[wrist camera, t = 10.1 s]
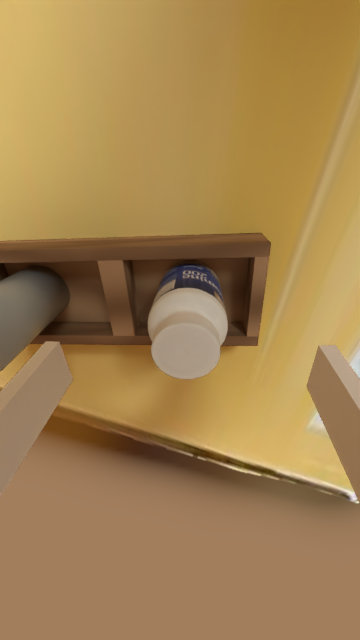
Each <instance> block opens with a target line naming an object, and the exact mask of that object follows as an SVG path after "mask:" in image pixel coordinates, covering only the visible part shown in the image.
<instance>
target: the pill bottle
mask: <svg viewBox="0 0 360 640" xmlns="http://www.w3.org/2000/svg"><path fill="white" fill-rule="evenodd" d="M227 330H228V321H227V315H226V310H225V305H224V301H223V296H222V291H221V287H220V283H219V280H218V278H217V276H216V274H215V273H214V272H213V270H211V269H210V268H209V267H208V266H206V265H204V264H202V263H199V262H196V261H185V262H181V263H178V264H176V265H174V266H173V267H171V268H170V269H169V270H168V271H167V272H166V273H165V275H164V277H163V279H162V281H161V283H160V285H159V288H158V291H157V294H156V297H155V299H154V302H153V305H152V307H151V310H150V313H149V317H148V333H149V336H150V339H151V341H152V346H151V354H152V358H153V360H154V362H155V364H156V365H157V367H158V368H159V369H160V370H161V371H163V372H164V373H165V374H167V375H169V376H172V377H174V378H178V379H195V378H199V377H202V376H204V375H206V374H208V373H209V372H210V371H212V370H213V369H214V368H215V366H216V365H217V363H218V361H219V358H220V347H221V345H222V344H223V342H224V340H225V338H226V335H227Z"/></svg>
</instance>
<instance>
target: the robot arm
mask: <svg viewBox="0 0 360 640" xmlns="http://www.w3.org/2000/svg"><path fill="white" fill-rule="evenodd" d="M72 381H73V377H72V375H71V372H70V369H69V367H68V364H67V361H66V358H65V356H64V353H63V350H62V348H61V345H60V342H52V341H46V342H45V343H44V344H43V345H42V346H41V347H40V348H39V349H38V350H37V352H36V353H35V354H34V355H33V356H32V357H31V358H30V359H29V360H28V361H27V363H26V364H25V365H24V366H23V367H22V368H21V369H20V370H19V371H18V372H17V373H16V375H15V376H14V377H13V378H12V379H11V380H10V381H9V382H8V383H7V384H6V386H5V387H4V388H3V389H2V390H1V391H0V497H1V495H2V494H3V492H4V490H5V489H6V487H7V485H8V484H9V482H10V481H11V479H12V478H13V476H14V474H15V473H16V471H17V469H18V468H19V466H20V465H21V463H22V461H23V460H24V458H25V457H26V455H27V453H28V452H29V450H30V448H31V447H32V445H33V444H34V442H35V440H36V439H37V437H38V436H39V434H40V432H41V431H42V429H43V427H44V426H45V424H46V423H47V421H48V419H49V418H50V416H51V415H52V413H53V411H54V410H55V408H56V407H57V405H58V403H59V402H60V400H61V398H62V397H63V395H64V394H65V392H66V390H67V389H68V387H69V386H70V384H71V382H72ZM307 388H308V391H309V393H310V395H311V397H312V399H313V402H314V404H315V406H316V408H317V410H318V413H319V415H320V417H321V419H322V421H323V424H324V426H325V428H326V430H327V432H328V434H329V437H330V439H331V441H332V443H333V445H334V448H335V450H336V452H337V454H338V456H339V459H340V461H341V463H342V465H343V467H344V470H345V472H346V474H347V476H348V478H349V480H350V483H351V485H352V487H353V489H354V491H355V494H356V496H357V498H358V500H359V502H360V378H359V377H358V376H357V374H356V373H355V371H354V370H353V369H352V367H351V366H350V364H349V363H348V362H347V360H346V359H345V358H344V356H343V355H342V353H341V352H340V351H339V349H338V348H337V346H336V345H319V346H318V349H317V353H316V356H315V360H314V363H313V366H312V370H311V373H310V376H309V380H308V383H307Z"/></svg>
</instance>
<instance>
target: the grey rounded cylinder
mask: <svg viewBox="0 0 360 640" xmlns="http://www.w3.org/2000/svg"><path fill="white" fill-rule="evenodd" d="M69 300H70V293H69V289H68V286H67V284H66V283H65V281H64V280H63V278H62V277H61V276H60V275H59V274H57V273H56V272H55V271H53V270H52V269H50V268H47V267H45V266H41V265H31V266H28V267H26V268H24V269H22V270H20V271H18V272H16V273H15V274H13V275H11V276H9V277H7V278H5V279H3V280H1V281H0V371H1V370H3V369H4V368H5V367H6V366H7V365H8V364H9V363H10V362H11V361H12V360H13V359H14V358H15V357H16V356H17V355H18V354H19V353H20V352H21V351H22V350H23V349H24V348H25V347H26V346H27V345H28V344H29V343H30V342H31V341H32V340H33V339H34V338H35V337H36V336H38V335H39V334H40V333H41V332H42V331H43V330H44V329H45V328H46V327H47V326H48V325H49V324H50V323H51V322H52V321H53V320H54V319H55V318H56V317H57V316H58V315H59V314H60V313H61V312H62V311H63V310H64V309H65V308H66V307H67V305H68V304H69Z"/></svg>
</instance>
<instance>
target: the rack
mask: <svg viewBox="0 0 360 640" xmlns="http://www.w3.org/2000/svg"><path fill="white" fill-rule="evenodd" d="M270 246H271V242H270V241H269V240H268V239H267V238H266V237H265V236H264V235H263V234H262V233H241V234H210V235H178V236H146V237H115V238H83V239H51V240H20V241H0V281H1V280H3V279H5V278H7V277H9V276H11V275H13V274H15V273H16V272H18V271H20V270H22V269H24V268H26V267H28V266H31V265H41V266H45V267H47V268H50V269H52V270H53V271H55V272H56V273H57V274H59V275H60V276H61V277H62V278H63V280H64V281H65V283H66V284H67V286H68V289H69V293H70V300H69V304H68V305H67V307H66V308H65V309H64V310H63V311H62V312H61V313H60V314H59V315H58V316H57V317H56V318H55V319H54V320H53V321H52V322H51V323H50V324H49V325H48V326H47V327H46V328H45V329H44V330H43V331H42V332H41V333H40V334H39V335H38V336H36V337H35V338H34V339H33V340H32V341H31V342H30V343H29V344H44V343H45V342H46V341H52V342H60V344H104V345H152V341H151V339H150V336H149V333H148V317H149V313H150V310H151V307H152V305H153V302H154V299H155V297H156V294H157V291H158V288H159V285H160V283H161V281H162V279H163V277H164V275H165V273H166V272H167V271H168V270H169V269H170V268H171V267H173V266H174V265H176V264H178V263H181V262H185V261H196V262H199V263H202V264H204V265H206V266H208V267H209V268H210V269H211V270H213V272H214V273H215V274H216V276H217V278H218V280H219V283H220V287H221V291H222V296H223V301H224V305H225V310H226V315H227V321H228V330H227V335H226V338H225V340H224V342H223V344H222V345H221V346H257V345H258V337H259V330H260V322H261V314H262V307H263V299H264V292H265V284H266V277H267V269H268V261H269V254H270Z"/></svg>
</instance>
